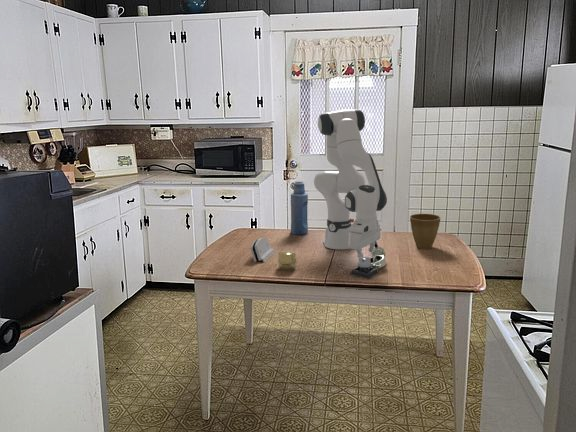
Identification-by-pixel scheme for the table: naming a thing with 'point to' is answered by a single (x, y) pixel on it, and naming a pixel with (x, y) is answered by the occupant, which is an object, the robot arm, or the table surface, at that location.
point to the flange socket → (364, 273)
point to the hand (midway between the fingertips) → (365, 254)
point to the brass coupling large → (287, 260)
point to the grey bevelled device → (261, 249)
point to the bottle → (299, 209)
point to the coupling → (364, 264)
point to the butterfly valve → (377, 257)
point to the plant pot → (424, 229)
